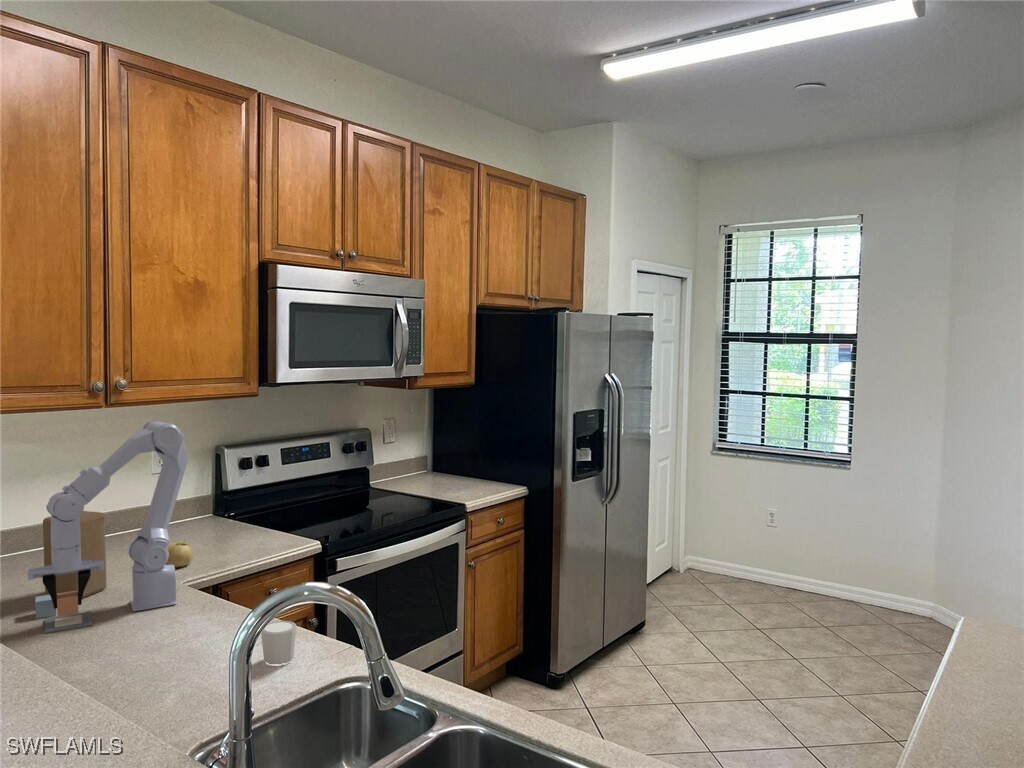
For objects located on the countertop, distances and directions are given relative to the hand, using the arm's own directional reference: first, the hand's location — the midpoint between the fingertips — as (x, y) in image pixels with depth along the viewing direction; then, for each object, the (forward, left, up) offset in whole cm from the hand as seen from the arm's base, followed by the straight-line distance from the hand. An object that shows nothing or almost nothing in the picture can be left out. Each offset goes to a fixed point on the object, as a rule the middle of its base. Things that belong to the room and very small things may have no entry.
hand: (67, 605), depth 169 cm
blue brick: (+4, -9, -4) cm, 10 cm away
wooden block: (-2, -21, -4) cm, 22 cm away
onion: (-27, -33, -4) cm, 43 cm away
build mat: (0, 0, -4) cm, 4 cm away
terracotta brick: (0, 0, -2) cm, 2 cm away
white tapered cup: (-36, +43, -4) cm, 56 cm away
